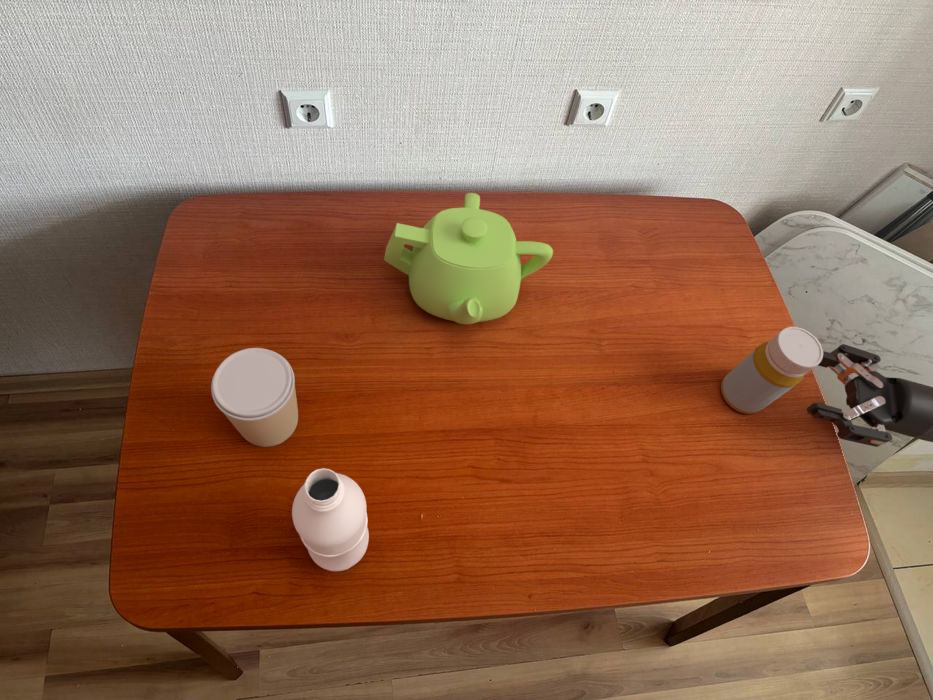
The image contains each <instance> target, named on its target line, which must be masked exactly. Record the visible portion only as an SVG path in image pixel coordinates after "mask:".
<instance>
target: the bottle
mask: <svg viewBox="0 0 933 700" xmlns="http://www.w3.org/2000/svg"><path fill="white" fill-rule="evenodd" d="M823 351H824V349H823V346H822V344H821V342H820V340H819V339H818V338H817V337H816V336H815V335H814V334H812V332H810V331H808V330H807V329H805V328H803V327H798V326H787V327H785V328H783V329H782V330H780V331H779V332H778V333H777V334H776V335H775V336H773V337H772V338H771V339H769V340H767V341H765V342H762V343H761V344H759V346H757V347H756V348H755V349H754V350H753V351H751V353H749V355H747V356H746V357H745V358H744V359H743V360H741V362H740V363H738V364H737V365H736V366H735V367H734V368H733V369H731V370H730V371H729V372H728V373H727V374H726V375H725V376H724V377H723V379H722V381H721V383H720V392H721V395H722V397H723V399H724V400H725V402H726V403H727V405H729V406H730V407H731V408H732V409H733V410H735V411H736V412H739V413H742V414H746V415H754V414H757V413H759V412H761V411H762V410H764V409H765V408H767V407H768V406H769V405H770V404H772V403H773V402H775V401H776V400H778V399H779V398H781V396H782V397H783V395H784V394H786V393H787V392H789V391H790V390H792V389H793V388H794V387H795V386H797V385H798V384H799V383H800V382H801V381H803V380H804V377H805V375H806V374H808V373H809V372H811V371H812V370H813V369H814V368H816V367H818V364H820V362H821V361H822V358H823Z"/></svg>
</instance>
